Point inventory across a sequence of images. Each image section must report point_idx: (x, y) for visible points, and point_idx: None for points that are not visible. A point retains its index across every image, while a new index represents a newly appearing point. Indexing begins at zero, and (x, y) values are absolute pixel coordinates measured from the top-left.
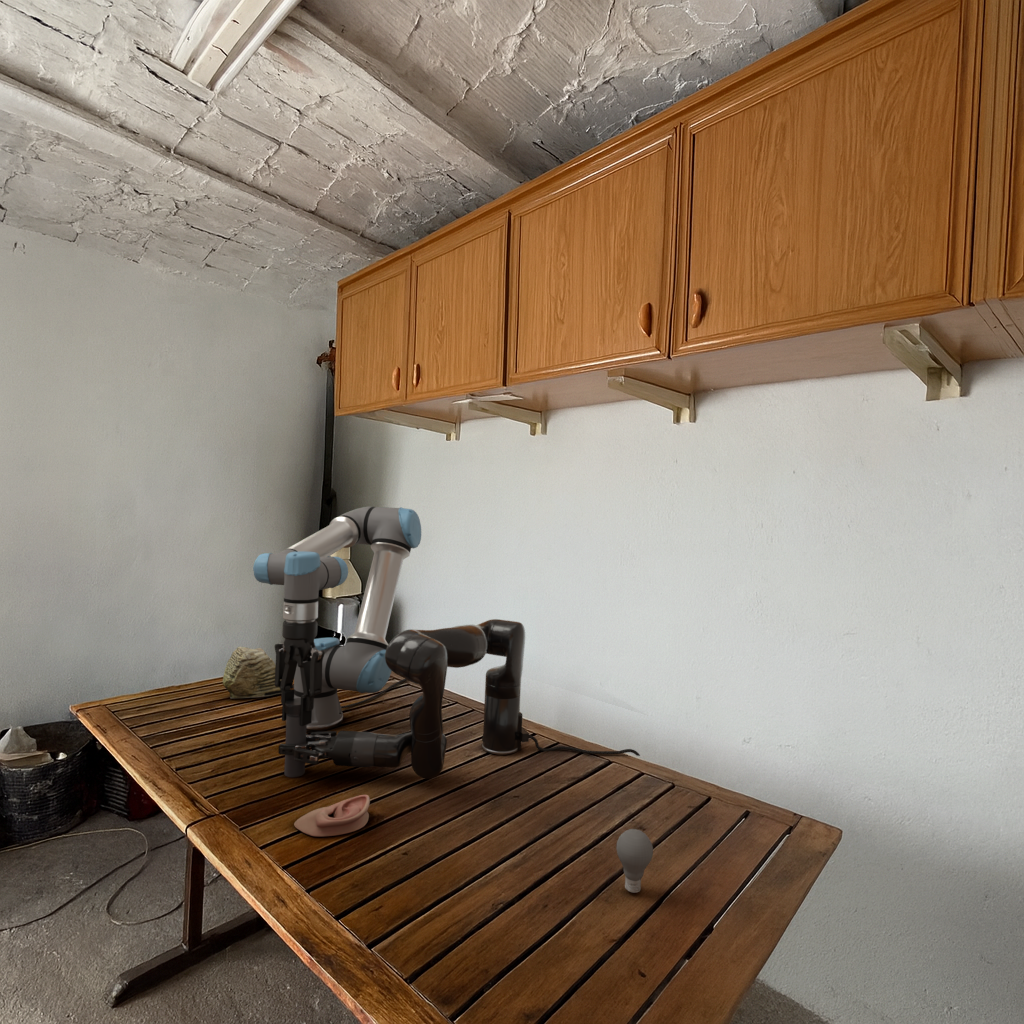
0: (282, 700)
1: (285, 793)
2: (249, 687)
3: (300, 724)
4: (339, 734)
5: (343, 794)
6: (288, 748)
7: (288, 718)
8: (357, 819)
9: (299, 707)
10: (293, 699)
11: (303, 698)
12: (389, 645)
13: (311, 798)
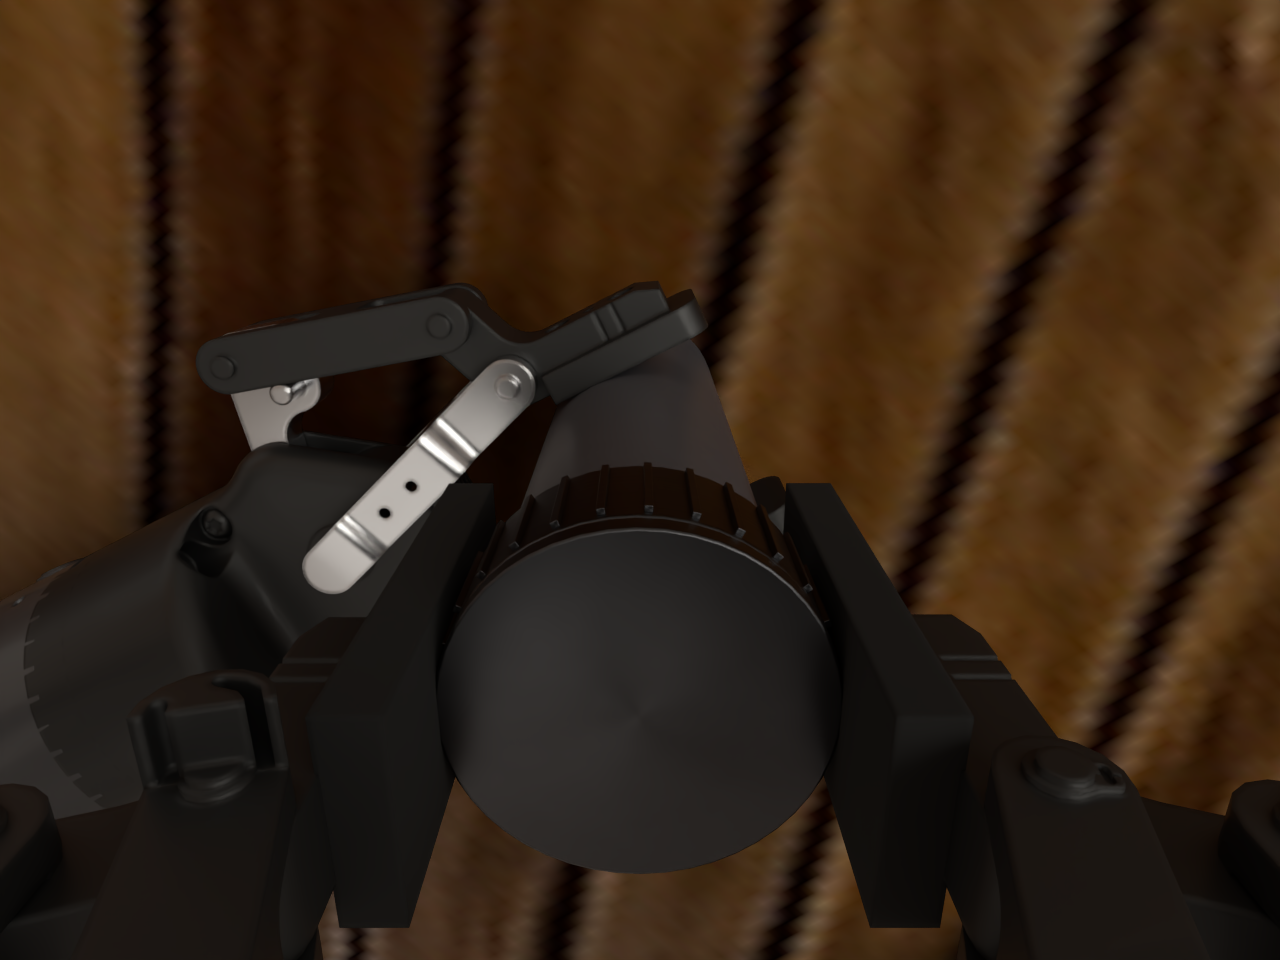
0: (957, 649)
1: (424, 112)
2: None
3: (474, 488)
4: (172, 667)
5: (102, 344)
6: (574, 319)
7: (654, 461)
8: None
9: (468, 599)
10: (778, 748)
11: (319, 711)
12: None
13: (211, 167)
